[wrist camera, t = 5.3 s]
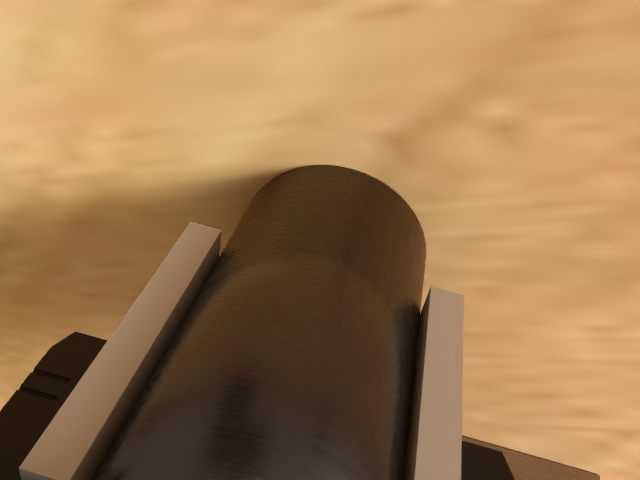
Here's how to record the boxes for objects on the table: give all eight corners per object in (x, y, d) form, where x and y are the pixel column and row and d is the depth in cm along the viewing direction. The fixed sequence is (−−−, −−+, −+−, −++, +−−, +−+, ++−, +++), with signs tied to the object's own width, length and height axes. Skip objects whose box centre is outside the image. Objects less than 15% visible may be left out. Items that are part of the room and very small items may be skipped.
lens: (228, 294, 18) (-8, 757, 9) (246, 134, 15) (-94, 611, 6) (403, 343, 17) (336, 873, 9) (461, 190, 14) (447, 785, 5)
